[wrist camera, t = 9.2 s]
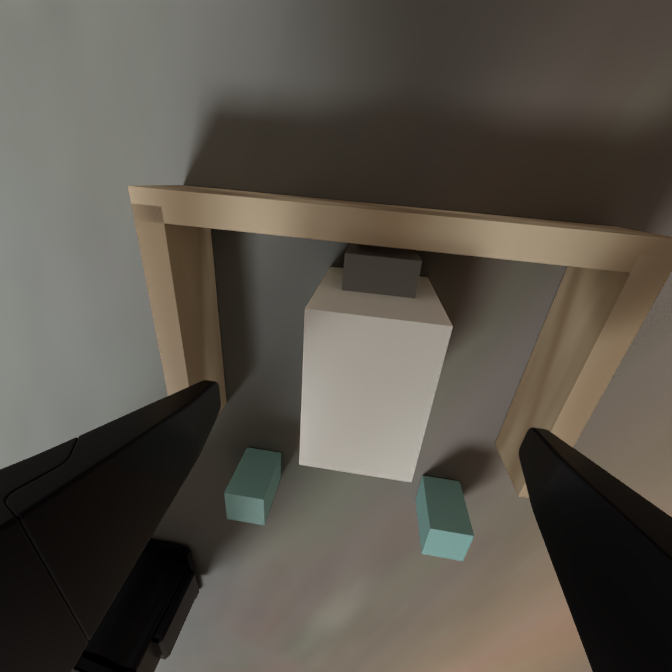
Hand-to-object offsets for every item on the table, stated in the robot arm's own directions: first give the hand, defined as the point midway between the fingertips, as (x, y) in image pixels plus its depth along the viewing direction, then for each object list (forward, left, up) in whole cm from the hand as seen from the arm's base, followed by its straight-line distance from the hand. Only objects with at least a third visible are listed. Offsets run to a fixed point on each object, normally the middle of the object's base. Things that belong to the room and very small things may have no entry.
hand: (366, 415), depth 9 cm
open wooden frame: (0, 0, -6) cm, 6 cm away
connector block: (0, 0, -6) cm, 6 cm away
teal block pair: (0, -9, -6) cm, 11 cm away
